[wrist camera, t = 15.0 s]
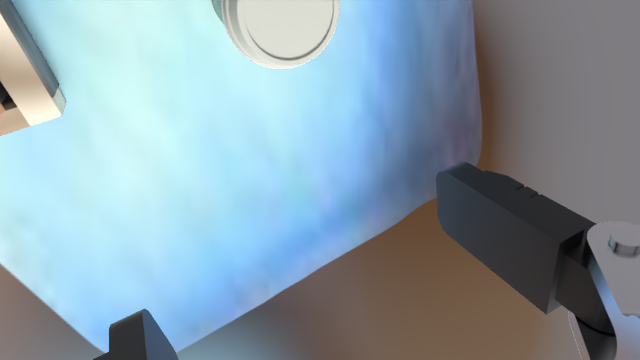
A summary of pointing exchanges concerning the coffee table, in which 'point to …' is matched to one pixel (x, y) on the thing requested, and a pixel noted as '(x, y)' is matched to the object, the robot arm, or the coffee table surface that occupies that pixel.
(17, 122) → the rail
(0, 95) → the pinkish brown rectangular block
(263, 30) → the coffee cup
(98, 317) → the coffee table surface
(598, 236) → the robot arm
